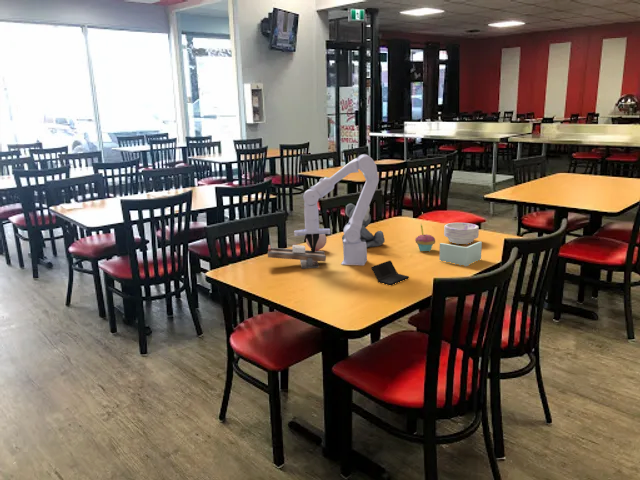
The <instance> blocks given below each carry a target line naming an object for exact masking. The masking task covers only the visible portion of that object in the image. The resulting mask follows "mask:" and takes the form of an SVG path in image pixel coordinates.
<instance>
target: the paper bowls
mask: <svg viewBox="0 0 640 480" xmlns="http://www.w3.org/2000/svg"><path fill="white" fill-rule="evenodd" d="M443 227H444V229H443V231H444V232H443V235H444V237H445V238H447V239H448V241H449V243H451V242H452V243H451V244H453V243H456V244H455V245H459V244H466V245H469V244H468V243H470V244H472V243H473V242H474V240H476V239H478V238H479V232H480V230H479V227H480V226H479V225H477V224H474V223H469V222H450V223H446V224H445V225H444V226H443ZM471 242H472V243H471Z"/></svg>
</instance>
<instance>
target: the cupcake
mask: <svg viewBox="0 0 640 480" xmlns="http://www.w3.org/2000/svg"><path fill="white" fill-rule="evenodd" d="M420 231H421V234H419V235H418V236H416V237H415V239H414V240H415V243H416V244H417V247H418V250H419V251H420V252H421V251H429V252H431V251H432V248H433V246H434V245H435V244H436V238H435V237H434V236H432V234H431V235H430V234H424V229H423V225H422V224H420ZM430 250H431V251H430Z"/></svg>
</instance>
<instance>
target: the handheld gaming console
mask: <svg viewBox="0 0 640 480" xmlns="http://www.w3.org/2000/svg"><path fill="white" fill-rule="evenodd" d="M370 269H371V270H372V273H373V274H374V276H375V278H376V280H377V283H379V282H380V283H379V284H382V283H384V284H383V285H386V284H387V285H386V286H389V285H391V286H393V284H394V285H396V284H399V283H401V282H400V281H402V282H404V281H406V280H405V279H407V280H409V279H410V276H409V275H405V274H401V273H398V271H397V269H396V268H395V266H394V264H393V261H392V260H386V261H384V262H381V263H378V264H376V265H373V266H371V268H370ZM408 278H409V279H408ZM403 280H404V281H403ZM398 282H399V283H398ZM395 283H396V284H395Z"/></svg>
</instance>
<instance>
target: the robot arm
mask: <svg viewBox="0 0 640 480" xmlns="http://www.w3.org/2000/svg"><path fill="white" fill-rule="evenodd" d="M360 171H361V173H362V175H363V177H364V178H365V183H364V185H363V187H362V189H361V192H360V194H359V198H358V200H357V202H356V205H355V206H356V207H355V210H354V212H353V215H352V217H351V218H350V220H349V219H348V223H347V224H345V225H344V227H343V235H345V239H344V240H343V241H342V247H343V253H342V254H343V260H342V262H341V263H340V265H343V266H345V265H346V266H365V264H366V263H367V261H368V251H367V250H368V249H367V248H368V247H367V245H366V242H362V241H361V239H360V230H361V228H362V222H363V219H364V217H365V214H366V212H367V209H368V207H369V206H370V205H371V202H372V199H373V198H374V194H375V192H376V189H377V187H378V184H379V181H380V178H379V173H378V167H377V164H376V163H375V161H374V159H373V158H372V157H371V156H370V155H369V154H366V153H363V154H359V156H357V157H356V158H353V159H352V160H350V161H349V162H348V163H347V164H345V165H344V166H342V167H341V168H340V169H339V170H338V171H336V172H335V173H334V174H332V175H331V176H330V177H327V176H325V177H321V178H320V179H319V181H318V182H317V183H316V184H315V183H314V185H313V186H312V185H311V186H310V188H308V189H307V190H305V191H304V192H303V202H304V203H303V206H304V209H303V210H304V211H303V215H304V217H303V218H304V229H298V230H297V229H296V230H294V231H293V233H294V237H297V236H305V238H307V240H308V242H309V244H310V247H311V248H310V247H309V248H310V251H311V252H312V253H315V248H316V244H317V241H318V239H319V234H324V235H331V229H330V228H320V219H319V218H320V215H319V207H318V202H319V199H322V198H324V197H325V196H326V195H327V194H329V193H330V192H332V191H333V190H334V189H335V185H336V184H337V183H338V182H340V181H342V180H343V179H344V178H346V177H347V176H348V175H350V174H352V173H353V174H354V173H359V172H360ZM312 235H313V242H312Z"/></svg>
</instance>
